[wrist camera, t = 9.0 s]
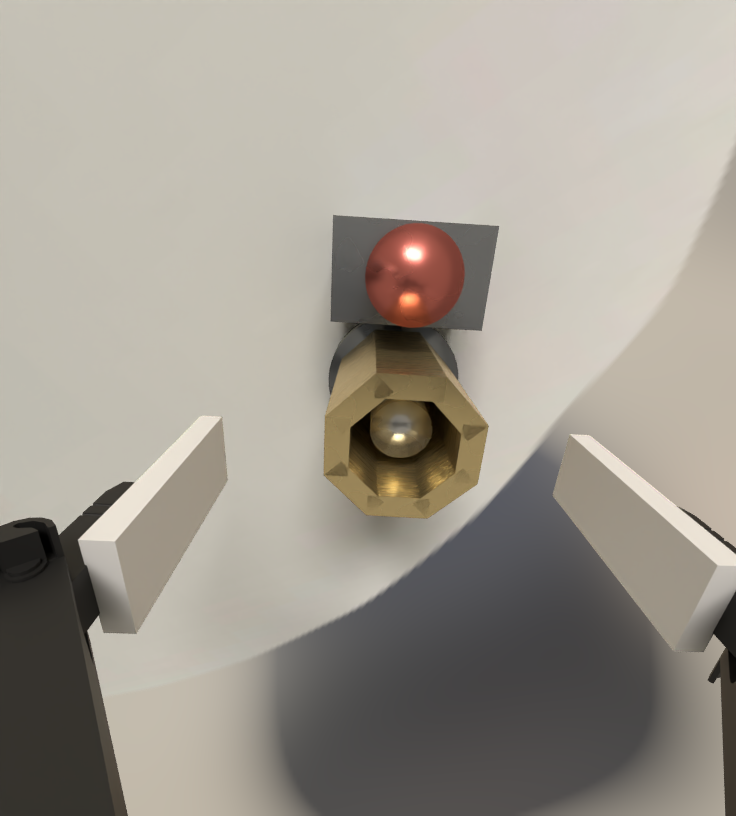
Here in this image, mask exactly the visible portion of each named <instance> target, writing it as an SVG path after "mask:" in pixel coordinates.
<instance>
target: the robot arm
mask: <svg viewBox="0 0 736 816" xmlns="http://www.w3.org/2000/svg"><path fill="white" fill-rule="evenodd" d="M227 481H228V479H227V468H226V456H225V445H224V434H223V423H222V417H217V416H200V417H199V418H198V419H197V420H196V421H195V422H194V423H193V424H192V425H191V426H190V427H189V428H188V429H187V430H186V431H185V432H184V433H183V434H182V435H181V436H180V437H179V438H178V439H177V440H176V441H175V442H174V443H173V444H172V445H171V446H170V448H169V449H168V450H167V451H166V452H165V453H164V454H163V455H162V456H161V457H160V458H159V459H158V460H157V461H156V462H155V463H154V464H153V465H152V466H151V467H150V468H149V469H148V470H147V471H146V472H145V473H144V474H143V475H142V476H141V477H140V478H139V479H138V480H137V481H136V482H122V483H121V484H119V485H117V486H115V487H113V488H111V489H110V490H108V491H106V492H105V493H104V494H103V495H102V496H100V497H99V498H98V499H97V500H96V501H95V502H94V503H93V506H90V507H89V508H88V509H86V510H85V511H84V512H83V515H82V516H81V515H80V516H79V517H78V518H77V519H76V520H75V521H74V522H72V523H71V524H70V525H69V526H68V527H67V528H66V529H65V530H64V531H63V532H62V533H61V534H60V535H58V532H57V528H56V525H55V524H54V523H53V521H52V520H49V519H46V518H27V519H22V520H17V521H13V522H10V523H8V524H5V525H2V526H0V816H128V815H127V810H126V805H125V801H124V796H123V791H122V787H121V782H120V777H119V772H118V768H117V763H116V759H115V754H114V749H113V745H112V741H111V736H110V731H109V726H108V722H107V717H106V712H105V708H104V703H103V698H102V694H101V689H100V685H99V680H98V675H97V671H96V666H95V661H94V657H93V652H92V648H91V643H90V639H89V635H88V632H87V630H88V629H89V627H90V626H91V625H92V623H93V622H94V621H95V619H96V618H97V616H98V615H99V618H100V622H101V625H102V629H103V632H104V633H129V634H137V632H138V630H139V629H140V627H141V625H142V624H143V622H144V620H145V618H146V617H147V615H148V613H149V612H150V610H151V608H152V607H153V605H154V603H155V602H156V600H157V598H158V597H159V595H160V593H161V592H162V590H163V588H164V587H165V585H166V583H167V582H168V580H169V578H170V576H171V575H172V573H173V571H174V570H175V568H176V566H177V565H178V563H179V561H180V560H181V558H182V556H183V555H184V553H185V551H186V550H187V548H188V546H189V545H190V543H191V541H192V539H193V538H194V536H195V534H196V533H197V531H198V529H199V528H200V526H201V524H202V523H203V521H204V519H205V518H206V516H207V514H208V513H209V511H210V509H211V508H212V506H213V504H214V503H215V501H216V499H217V497H218V496H219V494H220V492H221V491H222V489H223V487H224V486H225V484H226V482H227ZM553 496H554V498H555V499H556V500H557V501H558V503H559V504H560V505H561V507H562V508H563V509H564V510H565V512H566V513H567V514H568V515H569V517H570V518H571V520H572V521H573V522H574V523H575V525H576V526H577V527H578V529H579V530H580V531H581V532H582V533H583V535H584V536H585V538H586V539H587V540H588V541H589V543H590V544H591V545H592V546H593V548H594V549H595V550H596V552H597V553H598V554H599V556H600V557H601V558H602V560H603V561H604V562H605V563H606V565H607V566H608V567H609V569H610V570H611V571H612V572H613V574H614V575H615V576H616V578H617V579H618V580H619V581H620V583H621V584H622V585H623V587H624V588H625V589H626V590H627V592H628V593H629V594H630V596H631V597H632V598H633V599H634V601H635V602H636V603H637V605H638V606H639V607H640V609H641V610H642V611H643V612H644V614H645V615H646V616H647V618H648V619H649V620H650V621H651V623H652V624H653V625H654V627H655V628H656V629H657V630H658V632H659V633H660V634H661V636H662V637H663V638H664V640H665V641H666V642H667V643H668V645H669V646H670V647H671V649H672V650H673V651H685V652H704V650H705V649H706V647H707V645H708V643H709V641H710V640H711V638H712V636H713V634H714V635H715V636H716V637H717V638H718V639H719V640H720V641H721V642H722V644H724V646H725V647H726V648H725V650H724V651H723V653H722V655H721V657H720V658H719V660H718V662H717V663H716V665H715V667H714V669H713V670H712V672H711V674H710V676H709V678H708V681H709V682H711V683H714V682H715V680H716V678H720V677H721V702H722V729H723V759H724V786H725V815H726V816H736V548H735V547H734V546H733V545H731V544H730V543H729V542H727V541H724V538H722V537H721V536H720V535H719V534H717V533H716V532H715V531H711V528H710V527H709V526H707V525H706V524H705V523H704V522H702V521H701V520H700V519H699V518H697V517H696V516H694V515H693V514H691V513H689V512H687V511H685V510H684V509H681V508H680V507H678V506H676V505H674V504H673V503H672V502H671V501H670V500H668V499H667V498H666V497H665V496H663V495H662V494H661V493H660V492H659V491H657V490H656V489H655V488H654V487H652V486H651V485H650V484H649V483H647V482H646V481H645V480H644V479H643V478H641V477H640V476H639V475H638V474H637V473H635V472H634V471H633V470H632V469H630V468H629V467H628V466H627V465H625V464H624V463H623V462H622V461H621V460H619V459H618V458H617V457H616V456H614V455H613V454H612V453H611V452H609V451H608V450H607V449H606V448H605V447H603V446H602V445H601V444H600V443H598V442H597V441H596V440H595V439H593V438H592V437H591V436H590V435H574V434H570V435H569V439H568V442H567V446H566V450H565V453H564V457H563V460H562V464H561V467H560V471H559V474H558V478H557V481H556V485H555V488H554V492H553Z"/></svg>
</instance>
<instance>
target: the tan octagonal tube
mask: <svg viewBox="0 0 736 816" xmlns="http://www.w3.org/2000/svg"><path fill="white" fill-rule="evenodd" d="M385 399H397V400H414V401H424V402H425V405H426V408H427V411H428V414H429V416H430V419H431V423H432V435H431V438H430V440H429V442H428V444H427V445H426V446H425V448H424V449H423V450H421V451H420V452H418V453H417V454H415V455H412V456H409V457H404V458H397V457H391V456H388V455H386V454H384V453H383V452H381V451H380V450H379V449H378V448H377V447H376V446H375V445H374V443H373V441H372V438H371V434H370V411H371V410H372V409H374V408H375V407H376V406H377V405H378V404H380V403H381V402H382V401H383V400H385ZM488 427H489V426H488V424H487V423H486V421H485V420H484V418H483V417H482V415H481V414H480V413H479V411H478V410H477V408H476V407H475V405H474V404H473V402H472V401H471V399H470V398H469V396H468V395H467V393H466V392H465V390H464V389H463V388H462V386H461V385H460V383H459V382H458V380H457V379H456V377H455V376H454V374H453V373H452V371H451V370H450V368H449V367H448V366H447V364H446V363H445V362H444V361H443V360H442V358H441V357H440V356H439V355H438V354H437V352H436V351H435V350H434V349H433V348H432V346H431V345H430V344H429V343H428V342H427V340H426V339H425V338H424V337H423V336H422V334H421V333H420V332H407V331H391V330H374V331H373V332H371V333H370V334H369V335H368V336H367V337H366V338H365V339H364V340H362V341H361V342H360V343H359V344H358V345H357V346H356V347H354V348H353V349H352V350H351V351H350V352H349V353H348V354H347V355H345V356H344V357H343V358H342V360H341V363H340V367H339V370H338V373H337V377H336V380H335V384H334V387H333V390H332V394H331V397H330V401H329V404H328V407H327V411H326V414H325V439H324V476H325V477H326V478H327V479H328V480H329V481H330V482H331V483H333V484H334V485H335V486H336V487H337V488H338V489H339V490H340V491H341V492H342V493H343V494H344V495H345V496H346V497H347V498H349V499H350V500H351V501H352V502H353V503H354V504H355V505H356V506H357V507H358V508H359V509H360V510H361V511H362V512H363V513H365V514H366V515H372V516H390V517H408V518H426V519H427V518H429V517H430V516H432V515H433V514H435V513H436V512H438V511H439V510H441V509H442V508H443V507H445V506H446V505H448V504H449V503H451V502H452V501H454V500H455V499H456V498H458V497H459V496H461V495H462V494H464V493H465V492H467V491H468V490H470V489H471V488H472V487H474V486H475V485H477V484H478V479H479V473H480V468H481V463H482V458H483V453H484V447H485V442H486V437H487V432H488Z"/></svg>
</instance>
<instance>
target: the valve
mask: <svg viewBox="0 0 736 816" xmlns="http://www.w3.org/2000/svg"><path fill="white" fill-rule="evenodd" d="M498 230H499V226H489V225H474V224H458V223H443V222H428V221H412V220H397V219H382V218H367V217H351V216H336V215H333V246H332V288H331V321H334V322H350V323H360V324H359V325H357V326H356V327H354V328H353V329H352V330H351V331H350V332H349V333H348V334H347V335H346V336H345V337H344V338H343V340H342V341H341V342H340V344H339V346H338V348H337V349H336V352H335V354H334V357H333V360H332V362H331V366H330V370H329V389H330V395H331V394H332V390H333V387H334V384H335V380H336V377H337V373H338V370H339V367H340V363H341V360H342V358H343V357H344V356H345V355H347V354H348V353H349V352H350V351H351V350H352V349H353V348H354V347H356V346H357V345H358V344H359V343H360V342H361V341H362V340H364V339H365V338H366V337H367V336H368V335H369V334H370V333H371V332H373V331H374V330H391V331H407V332H420V333H421V334H422V336H423V337H424V338H425V339H426V340H427V342H428V343H429V344H430V345H431V346H432V348H433V349H434V350H435V351H436V352H437V354H438V355H439V356H440V357H441V358H442V360H443V361H444V362H445V363H446V364H447V366H448V367H449V368H450V370H451V371H452V373H453V374H454V376H455V377H456V379H457V380H458V369H457V363H456V360H455V357H454V354H453V352H452V350H451V348H450V347H449V345H448V344H447V342H446V341H445V340H444V339H443V337H442V336H441V335H440V334H439V333H438V332H437V331H436V330H435V329H434V328H447V329H463V330H479V331H482V325H483V319H484V313H485V307H486V301H487V295H488V289H489V283H490V277H491V271H492V265H493V260H494V254H495V248H496V242H497V236H498ZM370 434H371V438H372V441H373V443H374V445H375V446H376V447H377V448H378V449H379V450H380V451H381V452H383V453H384V454H386V455H388V456H391V457H397V458H404V457H409V456H412V455H415V454H417V453H418V452H420V451H421V450H423V449H424V448H425V446H426V445H427V444H428V442H429V440H430V438H431V435H432V423H431V419H430V416H429V414H428V411H427V408H426V405H425V402H424V401H414V400H397V399H385V400H383V401H382V402H381V403H380V404H378V405H377V406H376V407H375V408H374V409H372V410H371V411H370Z"/></svg>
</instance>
